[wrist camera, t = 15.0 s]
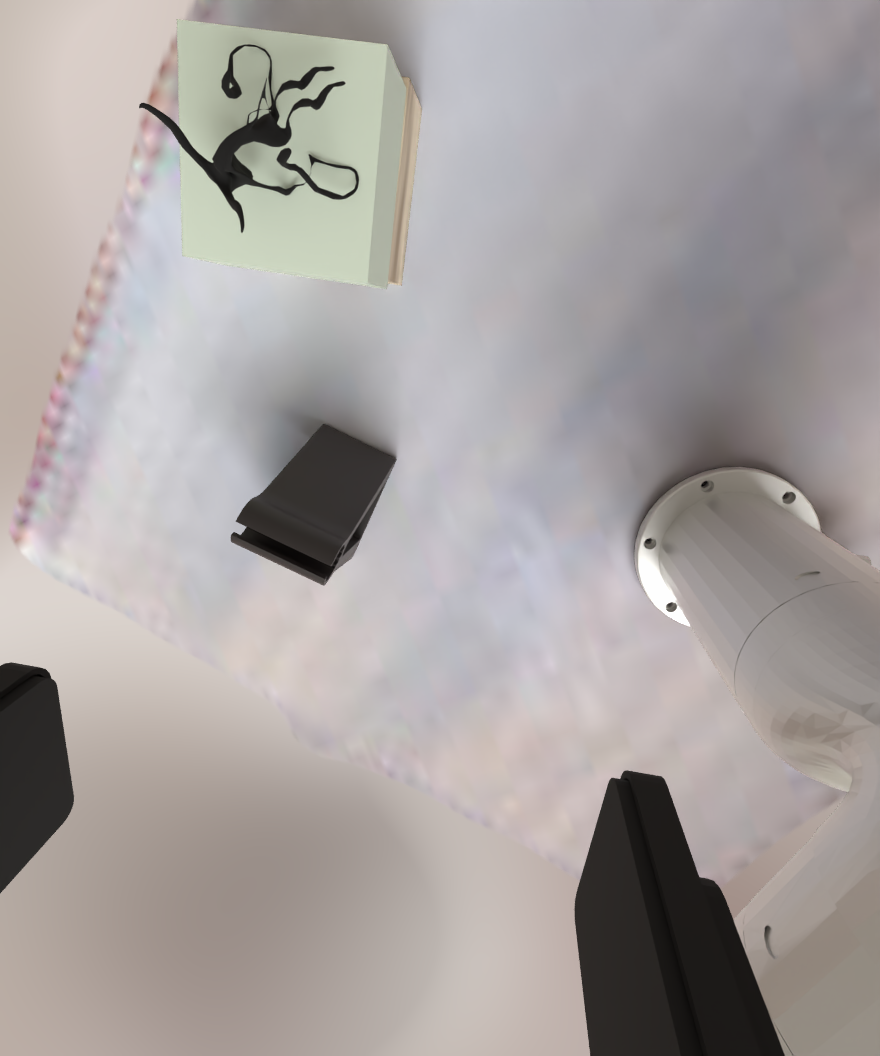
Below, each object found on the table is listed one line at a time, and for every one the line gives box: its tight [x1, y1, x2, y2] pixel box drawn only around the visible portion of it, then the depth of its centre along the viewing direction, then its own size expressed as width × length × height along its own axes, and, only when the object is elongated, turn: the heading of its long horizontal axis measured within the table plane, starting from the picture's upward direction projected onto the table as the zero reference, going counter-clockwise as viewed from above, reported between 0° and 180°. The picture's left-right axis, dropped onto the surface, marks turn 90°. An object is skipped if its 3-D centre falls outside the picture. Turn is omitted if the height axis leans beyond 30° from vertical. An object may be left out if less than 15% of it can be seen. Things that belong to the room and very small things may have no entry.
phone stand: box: [231, 424, 396, 585], centre depth 38 cm, size 9×6×12 cm, turn 155°
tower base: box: [388, 77, 422, 286], centre depth 34 cm, size 10×10×5 cm
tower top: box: [177, 19, 406, 289], centre depth 30 cm, size 10×10×5 cm
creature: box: [139, 44, 359, 233], centre depth 25 cm, size 8×5×8 cm
